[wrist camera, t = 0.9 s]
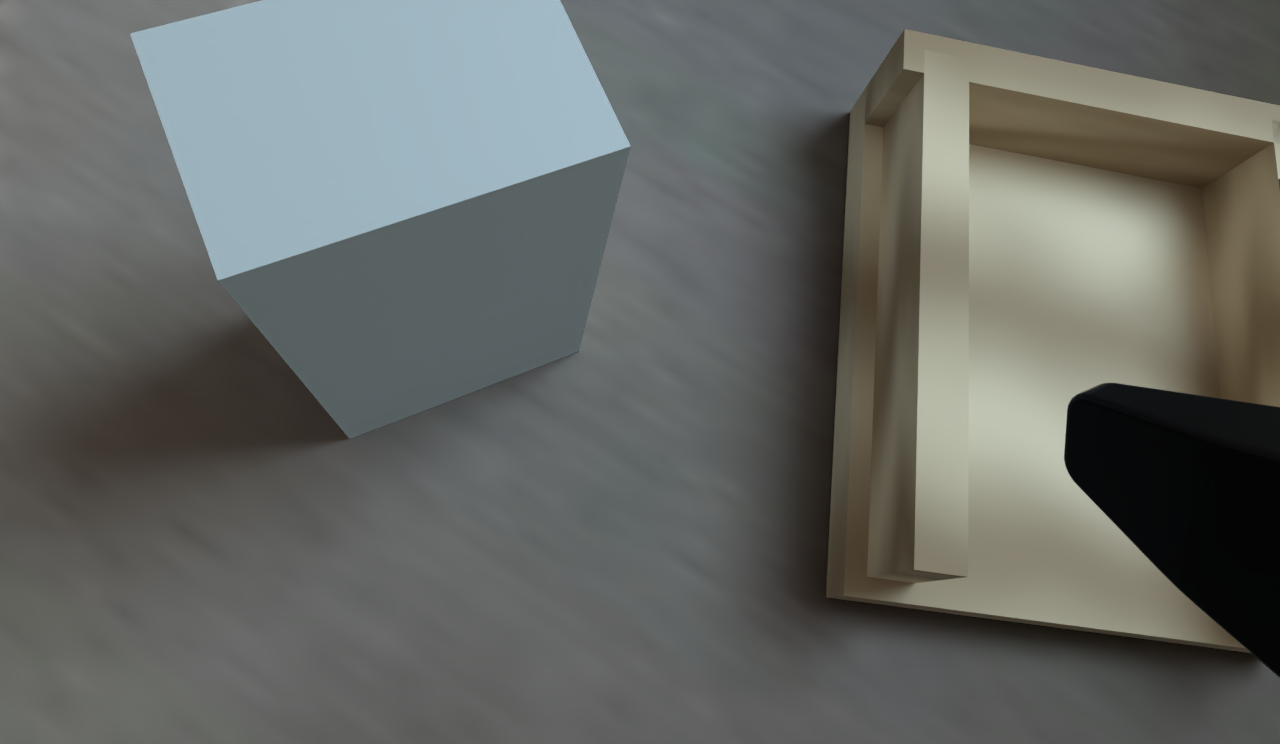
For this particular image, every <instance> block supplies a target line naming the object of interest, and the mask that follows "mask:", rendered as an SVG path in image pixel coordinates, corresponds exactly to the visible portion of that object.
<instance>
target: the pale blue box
mask: <svg viewBox="0 0 1280 744" xmlns="http://www.w3.org/2000/svg"><path fill="white" fill-rule="evenodd" d="M130 35H131V37H132V40H133V43H134V46H135V49H136V51H137V54H138V57H139V60H140V63H141V66H142V68H143V71H144V74H145V77H146V80H147V82H148V85H149V88H150V91H151V94H152V97H153V99H154V102H155V105H156V108H157V111H158V113H159V116H160V119H161V122H162V125H163V128H164V130H165V133H166V136H167V139H168V142H169V144H170V147H171V150H172V153H173V156H174V158H175V161H176V164H177V167H178V170H179V173H180V175H181V178H182V181H183V184H184V187H185V189H186V192H187V195H188V198H189V201H190V204H191V206H192V209H193V212H194V215H195V218H196V220H197V223H198V226H199V229H200V232H201V235H202V237H203V240H204V243H205V246H206V249H207V251H208V254H209V257H210V260H211V263H212V266H213V268H214V271H215V274H216V277H217V280H218V281H219V283H220V284H221V285H222V286H223V287H224V289H225V290H226V291H227V292H228V293H229V295H230V296H231V297H232V298H233V299H234V301H235V302H236V303H237V304H238V305H239V307H240V308H241V309H242V310H243V311H244V313H245V314H246V315H247V316H248V317H249V319H250V320H251V321H252V322H253V323H254V325H255V326H256V327H257V328H258V329H259V331H260V332H261V333H262V334H263V335H264V337H265V338H266V339H267V340H268V341H269V343H270V344H271V345H272V346H273V347H274V349H275V350H276V351H277V352H278V353H279V355H280V356H281V357H282V358H283V360H284V361H285V362H286V363H287V364H288V366H289V367H290V368H291V369H292V370H293V372H294V373H295V374H296V375H297V376H298V378H299V379H300V380H301V381H302V382H303V384H304V385H305V386H306V387H307V388H308V390H309V391H310V392H311V393H312V394H313V396H314V397H315V398H316V399H317V400H318V402H319V403H320V404H321V405H322V406H323V408H324V409H325V410H326V411H327V412H328V414H329V415H330V416H331V417H332V418H333V420H334V421H335V422H336V423H337V424H338V426H339V427H340V428H341V429H342V430H343V432H344V433H345V434H346V435H347V436H348V438H349V439H351V438H354V437H356V436H359V435H362V434H364V433H367V432H370V431H372V430H375V429H377V428H380V427H383V426H385V425H388V424H390V423H393V422H396V421H398V420H401V419H404V418H406V417H409V416H411V415H414V414H417V413H419V412H422V411H424V410H427V409H430V408H432V407H435V406H438V405H440V404H443V403H445V402H448V401H451V400H453V399H456V398H459V397H461V396H464V395H466V394H469V393H472V392H474V391H477V390H479V389H482V388H485V387H487V386H490V385H493V384H495V383H498V382H500V381H503V380H506V379H508V378H511V377H513V376H516V375H519V374H521V373H524V372H527V371H529V370H532V369H534V368H537V367H540V366H542V365H545V364H547V363H550V362H553V361H555V360H558V359H561V358H563V357H566V356H568V355H571V354H574V353H576V352H579V349H580V345H581V341H582V337H583V333H584V329H585V325H586V321H587V317H588V313H589V309H590V305H591V301H592V297H593V293H594V289H595V285H596V281H597V277H598V273H599V269H600V265H601V262H602V258H603V254H604V250H605V246H606V242H607V238H608V234H609V230H610V226H611V222H612V218H613V214H614V210H615V206H616V202H617V198H618V194H619V190H620V186H621V182H622V179H623V175H624V171H625V167H626V163H627V159H628V155H629V151H630V147H631V146H630V144H629V142H628V140H627V138H626V136H625V134H624V132H623V130H622V127H621V125H620V123H619V121H618V119H617V117H616V115H615V113H614V111H613V109H612V107H611V105H610V103H609V101H608V99H607V96H606V94H605V92H604V90H603V88H602V86H601V84H600V82H599V80H598V78H597V76H596V74H595V72H594V70H593V67H592V65H591V63H590V61H589V59H588V57H587V55H586V53H585V51H584V49H583V47H582V45H581V43H580V41H579V39H578V36H577V34H576V32H575V30H574V28H573V26H572V24H571V22H570V20H569V18H568V16H567V14H566V12H565V10H564V7H563V5H562V3H561V1H560V0H262V1H258V2H254V3H250V4H246V5H242V6H238V7H234V8H230V9H226V10H222V11H218V12H214V13H210V14H206V15H202V16H198V17H194V18H190V19H186V20H182V21H178V22H174V23H170V24H166V25H162V26H158V27H154V28H150V29H146V30H143V31H139V32H135V33H131V34H130Z"/></svg>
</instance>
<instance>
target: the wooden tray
mask: <svg viewBox="0 0 1280 744" xmlns="http://www.w3.org/2000/svg"><path fill="white" fill-rule="evenodd" d="M1103 383H1119V384H1126V385H1132V386H1139V387H1146V388H1153V389H1160V390H1166V391H1173V392H1180V393H1187V394H1194V395H1201V396H1207V397H1214V398H1221V399H1228V400H1235V401H1241V402H1248V403H1255V404H1262V405H1269V406H1275V407H1280V106H1279V105H1274V104H1269V103H1264V102H1259V101H1254V100H1249V99H1244V98H1240V97H1235V96H1230V95H1225V94H1220V93H1215V92H1210V91H1205V90H1200V89H1196V88H1191V87H1186V86H1181V85H1176V84H1171V83H1166V82H1161V81H1156V80H1151V79H1147V78H1142V77H1137V76H1132V75H1127V74H1122V73H1117V72H1112V71H1107V70H1102V69H1098V68H1093V67H1088V66H1083V65H1078V64H1073V63H1068V62H1063V61H1058V60H1053V59H1049V58H1044V57H1039V56H1034V55H1029V54H1024V53H1019V52H1014V51H1009V50H1005V49H1000V48H995V47H990V46H985V45H980V44H975V43H970V42H965V41H960V40H956V39H951V38H946V37H941V36H936V35H931V34H926V33H921V32H916V31H911V30H907V29H904V31H903V32H902V34H901V35H900V37H899V38H898V40H897V41H896V43H895V44H894V46H893V47H892V49H891V50H890V52H889V53H888V55H887V57H886V58H885V60H884V61H883V63H882V64H881V66H880V67H879V69H878V70H877V72H876V73H875V75H874V76H873V78H872V79H871V81H870V82H869V84H868V85H867V87H866V88H865V90H864V91H863V93H862V94H861V96H860V97H859V99H858V100H857V102H856V103H855V105H854V106H853V108H852V110H851V111H850V126H849V146H848V166H847V186H846V206H845V226H844V246H843V266H842V286H841V306H840V326H839V346H838V366H837V386H836V406H835V426H834V446H833V466H832V486H831V506H830V526H829V546H828V566H827V586H826V597H828V598H835V599H843V600H850V601H858V602H866V603H873V604H881V605H889V606H896V607H904V608H912V609H919V610H927V611H934V612H942V613H950V614H957V615H965V616H973V617H980V618H988V619H996V620H1003V621H1011V622H1018V623H1026V624H1034V625H1041V626H1049V627H1057V628H1064V629H1072V630H1080V631H1087V632H1095V633H1103V634H1110V635H1118V636H1125V637H1133V638H1141V639H1148V640H1156V641H1164V642H1171V643H1179V644H1187V645H1194V646H1202V647H1209V648H1217V649H1225V650H1232V651H1240V652H1248V653H1251V652H1250V651H1248V650H1247V649H1246V648H1245V647H1244V646H1243V645H1242V644H1240V643H1239V642H1238V641H1237V640H1236V639H1235V638H1233V637H1232V636H1231V635H1230V634H1229V633H1228V632H1227V631H1225V630H1224V629H1223V628H1222V627H1221V626H1220V625H1218V624H1217V623H1216V622H1215V621H1214V620H1213V619H1212V618H1210V617H1209V616H1208V615H1207V614H1206V613H1205V612H1203V611H1202V610H1201V609H1200V608H1199V607H1198V606H1197V605H1195V604H1194V603H1193V602H1192V601H1191V600H1190V599H1189V598H1188V597H1187V596H1185V595H1184V594H1183V593H1182V592H1181V591H1180V590H1179V589H1178V588H1177V587H1176V586H1175V585H1174V584H1173V583H1172V582H1171V581H1170V580H1169V579H1168V578H1167V577H1166V576H1165V575H1164V574H1163V573H1162V572H1161V571H1160V570H1159V569H1158V568H1157V567H1156V566H1155V565H1154V564H1153V563H1152V562H1151V561H1150V560H1149V559H1148V558H1147V557H1146V556H1145V555H1144V554H1143V553H1142V552H1141V551H1140V550H1139V549H1138V548H1137V547H1136V546H1135V544H1134V543H1133V542H1132V541H1131V540H1130V539H1129V538H1128V537H1127V536H1126V535H1125V534H1124V533H1123V532H1122V531H1121V530H1120V529H1119V528H1118V527H1117V526H1116V525H1115V524H1114V523H1113V522H1112V521H1111V520H1110V519H1109V518H1108V516H1107V515H1106V514H1105V513H1104V512H1103V511H1102V510H1101V509H1100V508H1099V507H1098V506H1097V505H1096V504H1095V503H1094V502H1093V501H1092V500H1091V499H1090V498H1089V497H1088V496H1087V495H1086V494H1085V493H1084V492H1083V491H1082V490H1081V488H1080V487H1079V486H1078V485H1077V484H1076V483H1075V482H1074V481H1073V480H1072V478H1071V477H1070V475H1069V473H1068V471H1067V469H1066V466H1065V462H1064V449H1065V435H1066V420H1067V409H1068V404H1069V402H1070V401H1071V399H1072V398H1073V397H1074V396H1075V395H1077V394H1079V393H1081V392H1083V391H1086V390H1088V389H1090V388H1093V387H1095V386H1097V385H1099V384H1103Z"/></svg>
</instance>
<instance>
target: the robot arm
mask: <svg viewBox="0 0 1280 744" xmlns="http://www.w3.org/2000/svg"><path fill="white" fill-rule="evenodd" d="M1064 462H1065V466H1066V469H1067V471H1068V473H1069V475H1070V477H1071V478H1072V480H1073V481H1074V482H1075V483H1076V484H1077V485H1078V486H1079V487H1080V488H1081V490H1082V491H1083V492H1084V493H1085V494H1086V495H1087V496H1088V497H1089V498H1090V499H1091V500H1092V501H1093V502H1094V503H1095V504H1096V505H1097V506H1098V507H1099V508H1100V509H1101V510H1102V511H1103V512H1104V513H1105V514H1106V515H1107V516H1108V518H1109V519H1110V520H1111V521H1112V522H1113V523H1114V524H1115V525H1116V526H1117V527H1118V528H1119V529H1120V530H1121V531H1122V532H1123V533H1124V534H1125V535H1126V536H1127V537H1128V538H1129V539H1130V540H1131V541H1132V542H1133V543H1134V544H1135V546H1136V547H1137V548H1138V549H1139V550H1140V551H1141V552H1142V553H1143V554H1144V555H1145V556H1146V557H1147V558H1148V559H1149V560H1150V561H1151V562H1152V563H1153V564H1154V565H1155V566H1156V567H1157V568H1158V569H1159V570H1160V571H1161V572H1162V573H1163V574H1164V575H1165V576H1166V577H1167V578H1168V579H1169V580H1170V581H1171V582H1172V583H1173V584H1174V585H1175V586H1176V587H1177V588H1178V589H1179V590H1180V591H1181V592H1182V593H1183V594H1184V595H1185V596H1187V597H1188V598H1189V599H1190V600H1191V601H1192V602H1193V603H1194V604H1195V605H1197V606H1198V607H1199V608H1200V609H1201V610H1202V611H1203V612H1205V613H1206V614H1207V615H1208V616H1209V617H1210V618H1212V619H1213V620H1214V621H1215V622H1216V623H1217V624H1218V625H1220V626H1221V627H1222V628H1223V629H1224V630H1225V631H1227V632H1228V633H1229V634H1230V635H1231V636H1232V637H1233V638H1235V639H1236V640H1237V641H1238V642H1239V643H1240V644H1242V645H1243V646H1244V647H1245V648H1246V649H1247V650H1248V651H1250V652H1251V653H1252V654H1253V655H1254V656H1255V657H1257V658H1258V659H1259V660H1260V661H1261V662H1262V663H1263V664H1265V665H1266V666H1267V667H1268V668H1269V669H1270V670H1272V671H1273V672H1274V673H1275V674H1276V675H1277V676H1278V677H1280V407H1275V406H1269V405H1262V404H1255V403H1248V402H1241V401H1235V400H1228V399H1221V398H1214V397H1207V396H1201V395H1194V394H1187V393H1180V392H1173V391H1166V390H1160V389H1153V388H1146V387H1139V386H1132V385H1126V384H1119V383H1103V384H1099V385H1097V386H1095V387H1093V388H1090V389H1088V390H1086V391H1083V392H1081V393H1079V394H1077V395H1075V396H1074V397H1073V398H1072V399H1071V401H1070V402H1069V404H1068V409H1067V420H1066V435H1065V449H1064Z"/></svg>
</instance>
